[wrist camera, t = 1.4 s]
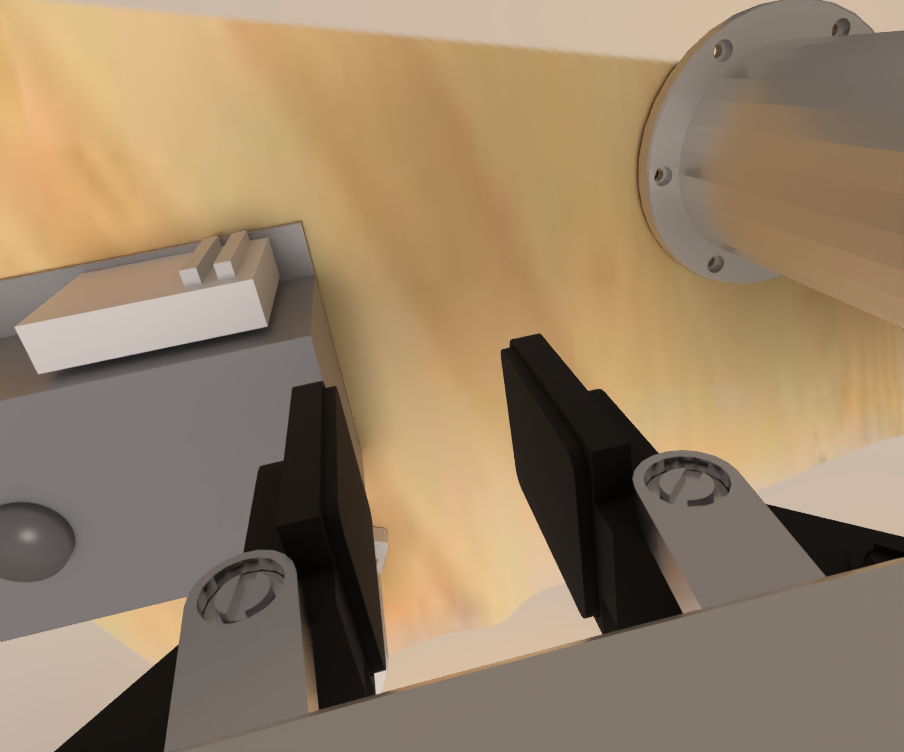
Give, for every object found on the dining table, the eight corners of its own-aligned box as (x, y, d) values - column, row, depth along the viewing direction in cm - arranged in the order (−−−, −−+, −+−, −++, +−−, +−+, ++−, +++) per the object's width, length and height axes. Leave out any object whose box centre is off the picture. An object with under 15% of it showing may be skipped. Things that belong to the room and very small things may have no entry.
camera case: (301, 221, 28) (291, 274, 20) (361, 451, 34) (371, 561, 26) (-50, 289, 27) (-202, 374, 19) (73, 517, 32) (-6, 654, 25)
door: (264, 223, 27) (247, 262, 22) (280, 275, 28) (267, 326, 23) (75, 259, 27) (5, 310, 21) (98, 312, 28) (38, 374, 22)
